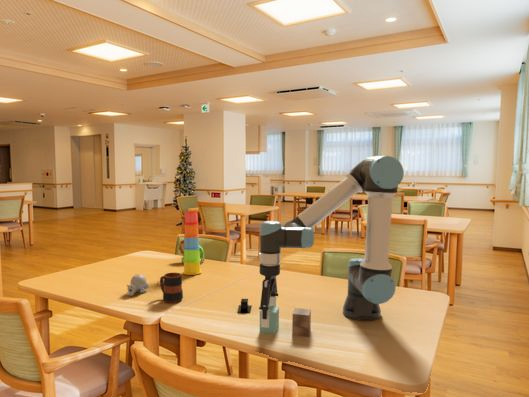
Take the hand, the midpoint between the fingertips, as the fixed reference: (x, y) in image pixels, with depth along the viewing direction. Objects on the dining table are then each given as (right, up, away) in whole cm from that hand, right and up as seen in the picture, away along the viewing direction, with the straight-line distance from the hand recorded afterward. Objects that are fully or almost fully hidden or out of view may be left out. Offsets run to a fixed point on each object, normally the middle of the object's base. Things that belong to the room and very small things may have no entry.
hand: (268, 319), depth 148 cm
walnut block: (+12, -4, -2) cm, 13 cm away
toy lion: (-47, +5, +100) cm, 111 cm away
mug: (-44, -1, +32) cm, 55 cm away
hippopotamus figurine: (-62, 0, +40) cm, 74 cm away
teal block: (0, -4, 0) cm, 4 cm away
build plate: (-10, -3, +21) cm, 23 cm away
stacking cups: (-42, +3, +76) cm, 86 cm away
